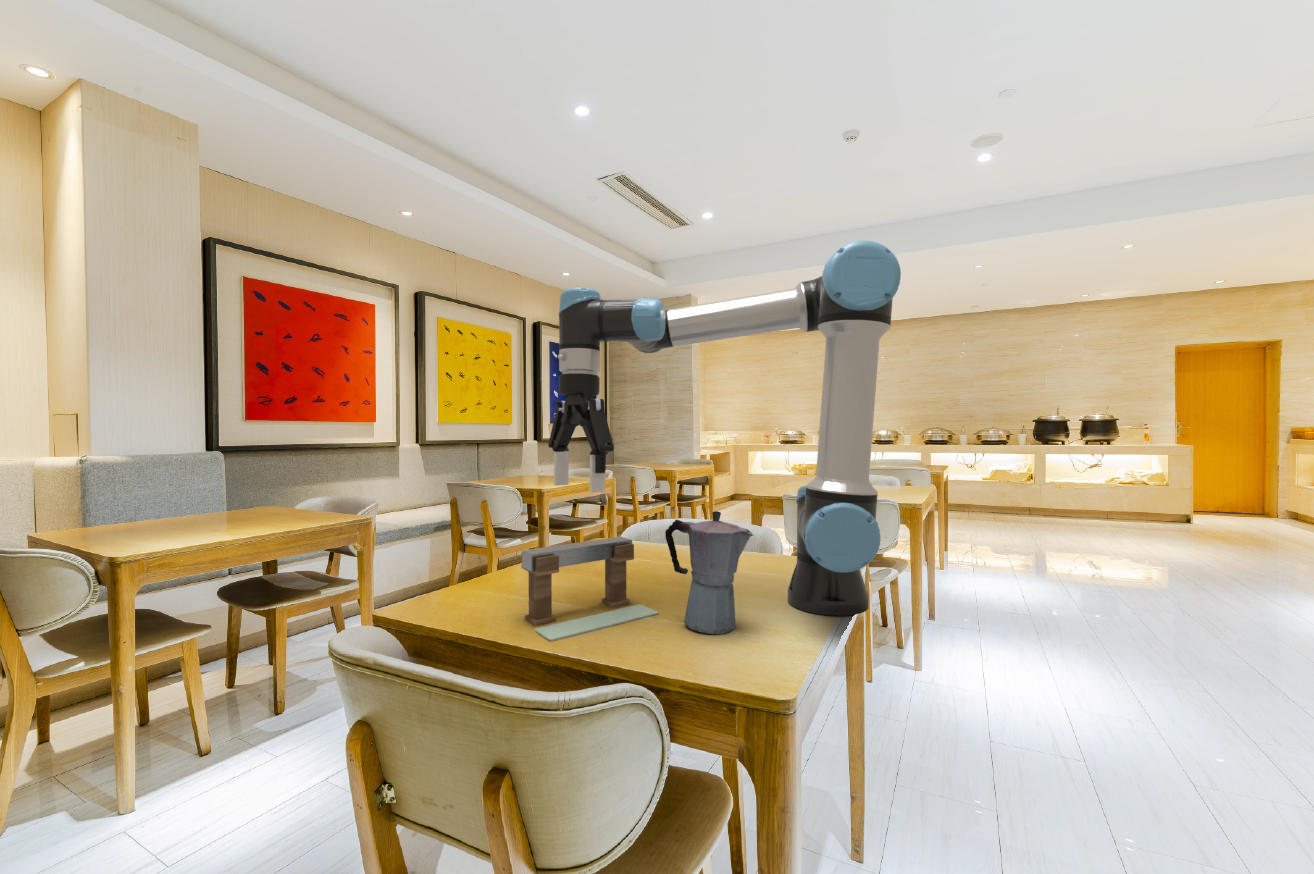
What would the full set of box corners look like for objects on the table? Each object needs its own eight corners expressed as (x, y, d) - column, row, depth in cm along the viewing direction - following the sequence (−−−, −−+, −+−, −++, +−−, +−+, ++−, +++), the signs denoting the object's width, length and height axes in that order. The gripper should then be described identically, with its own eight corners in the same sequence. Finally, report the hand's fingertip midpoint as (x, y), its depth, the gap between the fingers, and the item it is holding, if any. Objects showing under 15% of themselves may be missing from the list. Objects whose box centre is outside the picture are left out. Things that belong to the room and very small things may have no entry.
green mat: (659, 613, 102) (659, 612, 102) (550, 641, 88) (550, 639, 88) (640, 605, 107) (640, 604, 107) (534, 630, 93) (534, 628, 93)
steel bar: (632, 555, 108) (632, 539, 108) (531, 571, 95) (531, 554, 95) (620, 551, 111) (620, 536, 111) (522, 567, 98) (522, 550, 98)
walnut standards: (634, 605, 106) (634, 544, 106) (538, 628, 94) (537, 559, 94) (614, 597, 112) (614, 538, 112) (521, 617, 100) (521, 551, 100)
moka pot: (752, 639, 89) (752, 516, 89) (658, 632, 93) (659, 513, 92) (753, 619, 99) (754, 508, 98) (668, 613, 102) (669, 505, 102)
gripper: (531, 377, 110) (531, 483, 110) (596, 367, 90) (595, 496, 91) (565, 379, 115) (564, 481, 115) (634, 370, 95) (633, 493, 95)
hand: (578, 488), depth 103 cm, fingers open, 13 cm apart
